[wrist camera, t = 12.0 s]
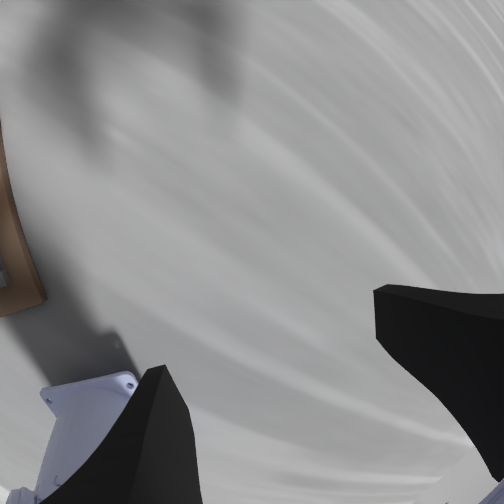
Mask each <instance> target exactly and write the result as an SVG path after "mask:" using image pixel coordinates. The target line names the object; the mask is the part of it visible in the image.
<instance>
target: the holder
mask: <svg viewBox="0 0 504 504" xmlns="http://www.w3.org/2000/svg"><path fill="white" fill-rule="evenodd" d="M46 300H47V297H46V294H45V292H44V290H43V287H42V285H41V282H40V280H39V277H38V275H37V272H36V269H35V267H34V264H33V261H32V258H31V256H30V253H29V250H28V247H27V244H26V241H25V238H24V234H23V231H22V228H21V224H20V221H19V217H18V214H17V210H16V206H15V202H14V198H13V194H12V190H11V185H10V180H9V176H8V171H7V165H6V159H5V153H4V147H3V140H2V132H1V123H0V317H3V316H6V315H9V314H12V313H15V312H18V311H21V310H24V309H27V308H30V307H33V306H36V305H39V304H42V303H44V302H45V301H46Z"/></svg>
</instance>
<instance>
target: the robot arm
mask: <svg viewBox="0 0 504 504" xmlns="http://www.w3.org/2000/svg"><path fill="white" fill-rule="evenodd" d="M373 293H374V308H375V327H376V339H377V340H378V341H379V343H380V344H381V345H382V346H383V348H384V349H385V350H386V351H387V352H388V354H389V355H390V356H391V357H392V358H393V359H394V360H395V361H396V362H398V363H399V364H400V365H401V366H402V367H403V368H404V369H405V370H407V371H408V372H409V373H410V374H411V375H412V376H414V377H415V378H416V379H417V380H418V381H419V382H420V383H422V384H423V385H424V386H425V387H426V388H427V389H429V390H430V391H431V392H432V393H433V394H434V395H435V396H436V397H437V398H438V399H439V400H440V401H441V402H442V404H443V405H444V406H445V407H446V408H447V409H448V410H449V412H450V413H451V414H452V415H453V416H454V418H455V419H456V420H457V422H458V423H459V424H460V425H461V427H462V428H463V429H464V431H465V432H466V433H467V435H468V436H469V438H470V439H471V441H472V442H473V444H474V445H475V446H476V448H477V450H478V451H479V453H480V455H481V456H482V458H483V460H484V462H485V464H486V465H487V467H488V469H489V471H490V473H491V475H492V477H493V478H494V479H495V480H496V481H498V482H501V481H502V482H501V483H500V484H499V485H498V486H497V487H496V488H495V489H494V490H493V491H492V492H491V493H489V495H488V496H486V497H485V498H484V499H483V500H482V501H481V502H480V503H479V504H504V480H503V479H504V294H470V293H458V292H449V291H440V290H433V289H426V288H419V287H411V286H403V285H391V284H387V285H384V286H382V287H380V288H378V289H375V290H373ZM128 383H132V384H133V385H129V384H128ZM40 395H41V397H42V399H43V400H44V401H45V403H46V404H47V406H48V407H49V408H50V410H51V411H52V412H53V414H54V415H55V416H56V418H57V419H56V422H55V425H54V428H53V431H52V434H51V437H50V440H49V443H48V446H47V449H46V452H45V456H44V459H43V462H42V466H41V469H40V473H39V476H38V480H37V484H36V488H35V490H34V491H31V490H29V489H27V488H26V487H21V488H20V489H15V490H11V492H10V494H9V496H8V499H7V501H6V504H203V502H202V497H201V492H200V484H199V475H198V466H197V457H196V447H195V437H194V431H193V427H192V422H191V418H190V413H189V409H188V407H187V405H186V404H185V402H184V400H183V398H182V396H181V394H180V392H179V391H178V389H177V387H176V385H175V383H174V381H173V379H172V377H171V375H170V373H169V371H168V369H167V367H166V365H161V366H157V367H154V368H150V369H147V371H146V372H145V374H144V375H143V377H142V379H141V380H140V382H139V383H138V381H137V380H136V378H135V376H134V375H133V373H131V372H129V371H122V372H118V373H114V374H110V375H105V376H101V377H97V378H92V379H87V380H83V381H78V382H73V383H68V384H63V385H58V386H52V387H47V388H42V389H41V391H40ZM49 399H50V400H49Z"/></svg>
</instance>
